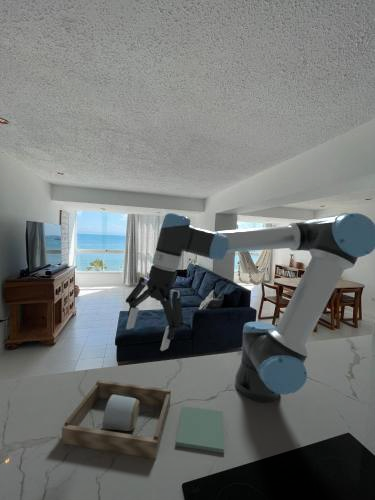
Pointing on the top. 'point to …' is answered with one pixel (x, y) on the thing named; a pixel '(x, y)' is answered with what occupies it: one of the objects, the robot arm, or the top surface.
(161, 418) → the open wooden box frame
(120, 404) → the ceramic mug
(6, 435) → the top surface
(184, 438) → the rubber mat
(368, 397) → the top surface
